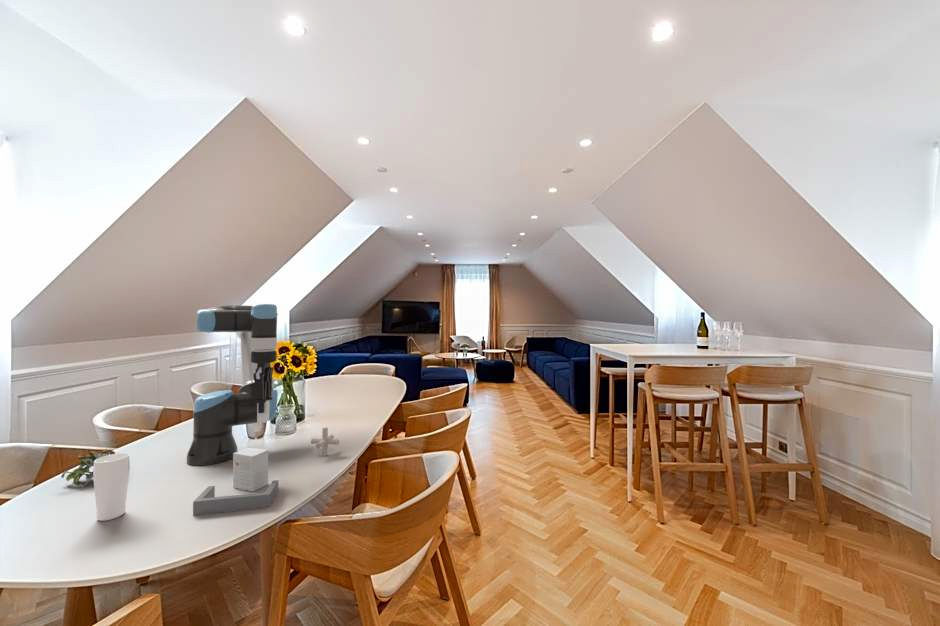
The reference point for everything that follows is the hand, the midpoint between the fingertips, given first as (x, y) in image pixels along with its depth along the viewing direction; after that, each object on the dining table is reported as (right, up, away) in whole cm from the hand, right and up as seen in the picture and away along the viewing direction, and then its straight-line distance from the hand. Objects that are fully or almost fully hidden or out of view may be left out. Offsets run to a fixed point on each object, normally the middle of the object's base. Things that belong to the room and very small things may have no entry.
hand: (263, 421), depth 125 cm
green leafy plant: (-47, -16, -9) cm, 51 cm away
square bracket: (+5, -16, -21) cm, 27 cm away
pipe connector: (+15, -17, +14) cm, 27 cm away
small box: (+2, -17, -11) cm, 20 cm away
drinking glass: (-23, -16, -29) cm, 40 cm away
